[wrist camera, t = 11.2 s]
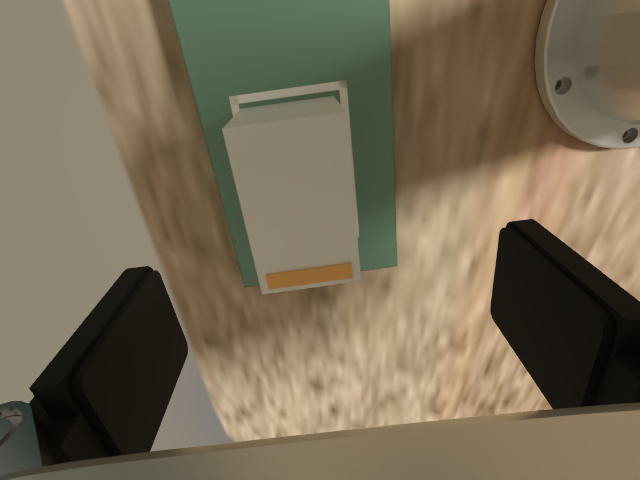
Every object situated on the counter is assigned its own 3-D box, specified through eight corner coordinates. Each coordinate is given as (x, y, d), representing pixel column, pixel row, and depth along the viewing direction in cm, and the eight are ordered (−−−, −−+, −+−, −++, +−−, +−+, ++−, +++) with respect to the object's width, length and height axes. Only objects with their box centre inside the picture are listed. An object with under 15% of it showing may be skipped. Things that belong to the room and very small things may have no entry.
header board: (110, -252, 14) (94, -278, 13) (373, -289, 14) (379, -319, 13) (247, 277, 25) (244, 287, 24) (392, 256, 25) (397, 266, 24)
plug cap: (240, 108, 19) (221, 129, 14) (333, 95, 19) (347, 111, 14) (269, 241, 22) (261, 295, 18) (346, 230, 22) (361, 281, 18)
